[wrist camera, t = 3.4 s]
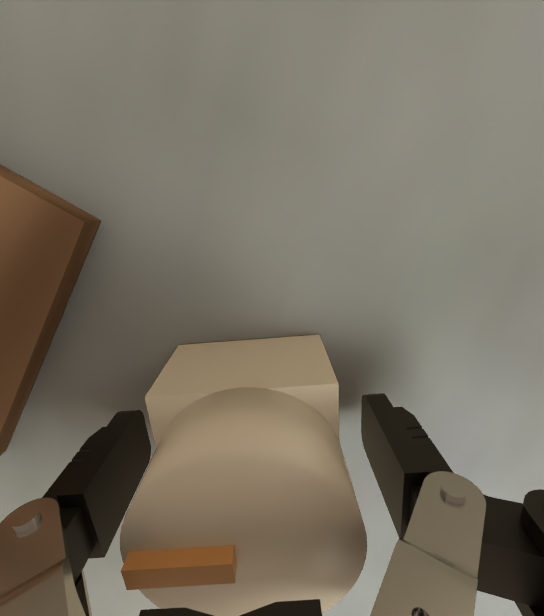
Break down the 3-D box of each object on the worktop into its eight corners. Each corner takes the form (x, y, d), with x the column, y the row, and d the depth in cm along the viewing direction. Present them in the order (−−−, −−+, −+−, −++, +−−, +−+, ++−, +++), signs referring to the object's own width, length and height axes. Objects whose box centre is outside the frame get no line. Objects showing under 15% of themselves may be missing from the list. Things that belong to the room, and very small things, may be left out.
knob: (322, 331, 12) (375, 460, 6) (325, 451, 14) (370, 646, 8) (175, 342, 12) (81, 480, 6) (197, 460, 14) (141, 659, 8)
